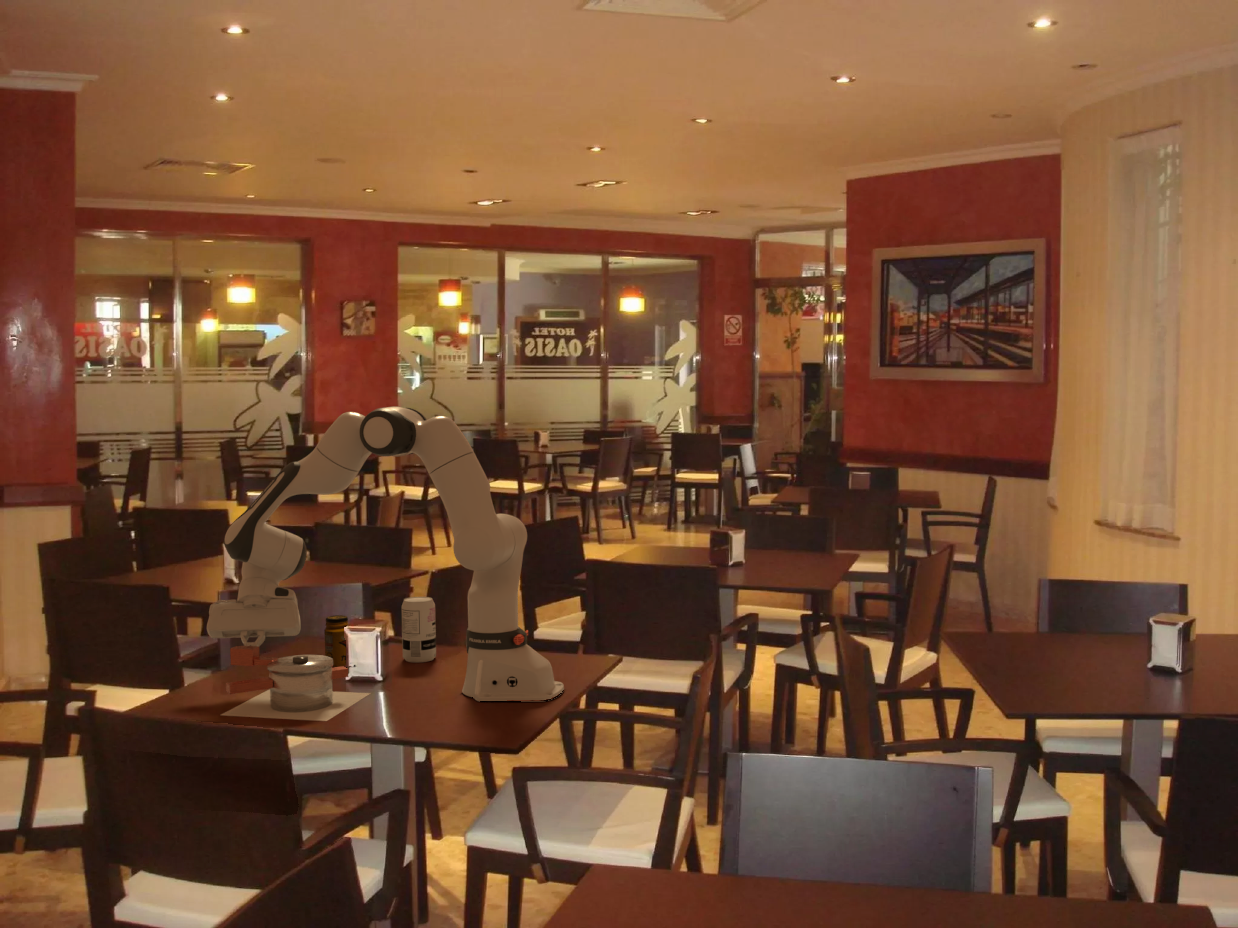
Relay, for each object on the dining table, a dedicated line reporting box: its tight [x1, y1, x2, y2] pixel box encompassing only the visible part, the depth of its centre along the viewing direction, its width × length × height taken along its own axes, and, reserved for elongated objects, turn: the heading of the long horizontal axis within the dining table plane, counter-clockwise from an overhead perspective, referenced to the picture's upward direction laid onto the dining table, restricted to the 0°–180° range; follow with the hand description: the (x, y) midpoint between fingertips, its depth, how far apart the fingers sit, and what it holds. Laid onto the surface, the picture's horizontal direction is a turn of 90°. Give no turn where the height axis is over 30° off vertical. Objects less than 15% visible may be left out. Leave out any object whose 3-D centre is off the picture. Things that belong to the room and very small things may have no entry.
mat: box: [220, 688, 372, 722], centre depth 274 cm, size 24×22×1 cm
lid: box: [229, 645, 333, 675], centre depth 274 cm, size 22×14×4 cm, turn 77°
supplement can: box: [401, 596, 437, 664], centre depth 315 cm, size 8×8×15 cm
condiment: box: [324, 614, 349, 667], centre depth 309 cm, size 7×8×12 cm
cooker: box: [225, 666, 349, 712], centre depth 272 cm, size 20×20×8 cm
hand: (250, 651), depth 282 cm, fingers closed
